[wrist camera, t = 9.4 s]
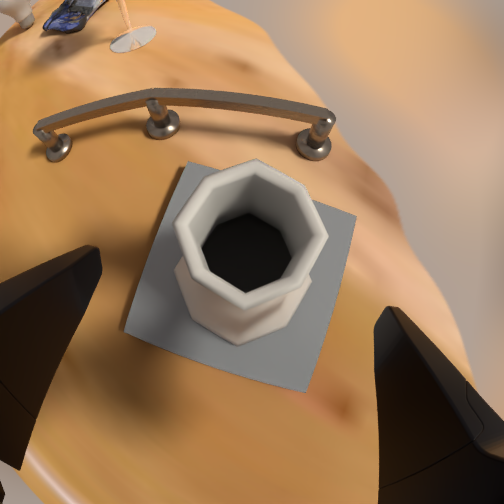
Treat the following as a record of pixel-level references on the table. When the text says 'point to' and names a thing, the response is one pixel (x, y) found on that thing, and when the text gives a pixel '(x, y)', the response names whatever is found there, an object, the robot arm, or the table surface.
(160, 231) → the slate coaster
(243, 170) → the flask
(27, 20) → the lightbulb
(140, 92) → the bent rail
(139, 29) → the wineglass
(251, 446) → the table surface
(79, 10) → the snack package
